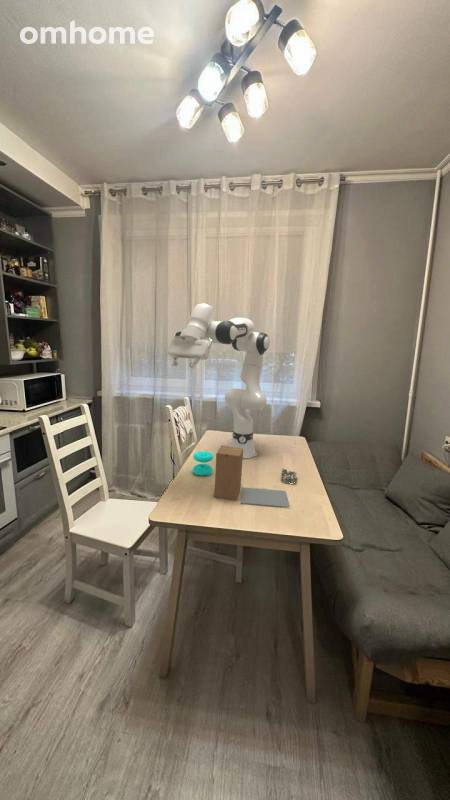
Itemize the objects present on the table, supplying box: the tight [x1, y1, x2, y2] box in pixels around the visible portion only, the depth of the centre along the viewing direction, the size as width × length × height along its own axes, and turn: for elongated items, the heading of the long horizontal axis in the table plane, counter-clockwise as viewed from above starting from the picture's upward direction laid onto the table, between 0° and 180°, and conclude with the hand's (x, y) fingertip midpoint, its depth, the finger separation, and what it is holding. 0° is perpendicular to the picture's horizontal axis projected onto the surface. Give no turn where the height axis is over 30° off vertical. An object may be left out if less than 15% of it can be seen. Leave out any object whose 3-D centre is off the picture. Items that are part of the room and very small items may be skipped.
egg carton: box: [280, 467, 298, 484], centre depth 153 cm, size 11×8×4 cm
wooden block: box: [213, 445, 244, 501], centre depth 134 cm, size 10×10×20 cm
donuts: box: [192, 450, 214, 477], centre depth 155 cm, size 10×10×10 cm
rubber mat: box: [240, 486, 291, 508], centre depth 133 cm, size 14×20×1 cm
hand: (182, 366), depth 128 cm, fingers open, 8 cm apart
